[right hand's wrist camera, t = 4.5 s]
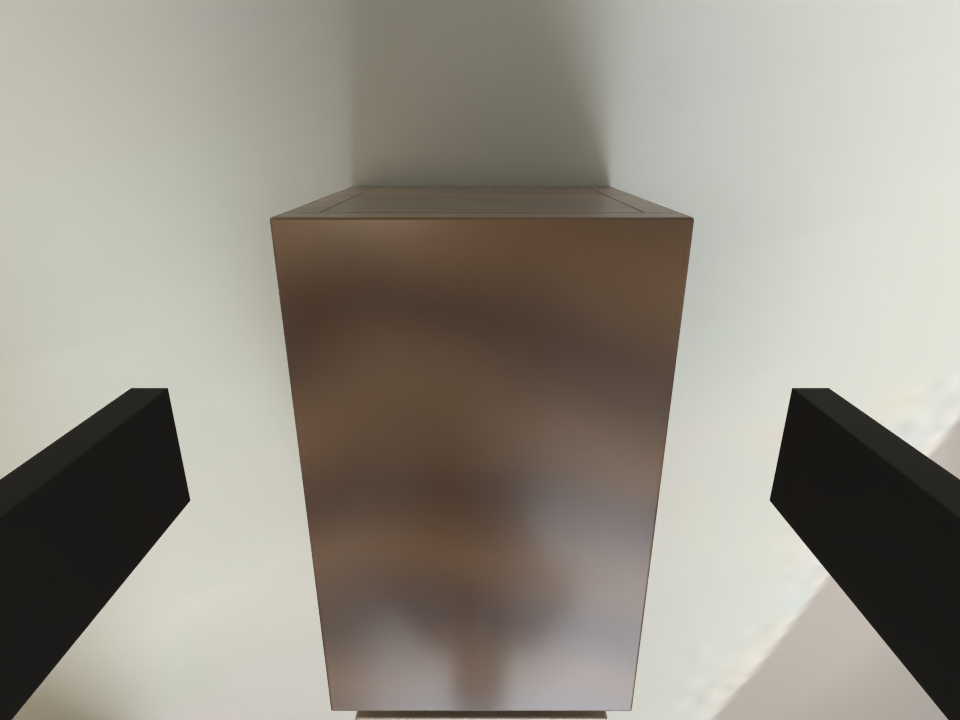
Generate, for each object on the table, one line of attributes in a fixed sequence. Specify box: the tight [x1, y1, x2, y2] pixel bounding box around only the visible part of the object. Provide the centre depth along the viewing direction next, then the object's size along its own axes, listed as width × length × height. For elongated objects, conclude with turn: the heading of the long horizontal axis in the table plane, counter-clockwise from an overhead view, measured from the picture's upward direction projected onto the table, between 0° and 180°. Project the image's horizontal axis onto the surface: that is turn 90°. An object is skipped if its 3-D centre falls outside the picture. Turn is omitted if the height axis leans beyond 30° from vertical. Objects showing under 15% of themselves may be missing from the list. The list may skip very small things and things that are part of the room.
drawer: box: [356, 711, 607, 720], centre depth 27 cm, size 23×10×9 cm, turn 0°
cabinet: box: [270, 187, 694, 711], centre depth 24 cm, size 19×12×11 cm, turn 0°
